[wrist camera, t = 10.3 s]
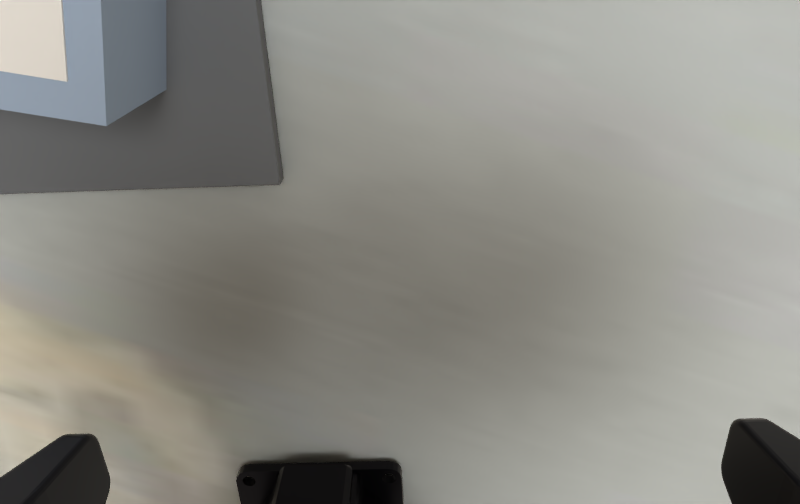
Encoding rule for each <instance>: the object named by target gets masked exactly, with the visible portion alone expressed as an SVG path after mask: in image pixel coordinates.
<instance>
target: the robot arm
mask: <svg viewBox="0 0 800 504" xmlns="http://www.w3.org/2000/svg"><path fill="white" fill-rule="evenodd" d="M721 471H722V477H723V481H724V484H725V486H726V489H727V492H728V494H729V497H730V500H731V503H732V504H800V439H798V438H797V437H795V436H794V435H792V434H790V433H789V432H787V431H785V430H784V429H782V428H781V427H779V426H777V425H776V424H774V423H773V422H771V421H769V420H767V419H763V418H748V419H737V420H735V421H733V423H732V424H731V427H730V430H729V434H728V438H727V442H726V446H725V450H724V454H723V458H722V464H721ZM385 474H393V475H390V476H389V475H385ZM247 476H249V477H252V478H248V477H247ZM236 482H237V487H238V491H239V496H240V501H241V504H404V503H403V484H402V470H401V467H400V466H399V465H398V464H397V463H395V462H390V461H377V462H329V463H282V464H248V465H244V466H242V467H241V468H240V470H239V472H238V475H237V480H236ZM109 489H110V476H109V472H108V469H107V466H106V463H105V460H104V457H103V454H102V451H101V448H100V445H99V442H98V440H97V438H96V437H95V436H94V435H92V434H67V435H63V436H61V437H59V438H58V439H56V440H55V441H53V442H52V443H50V444H49V445H47V446H46V447H44V448H43V449H42V450H40V451H39V452H37V453H36V454H34V455H33V456H31V457H30V458H28V459H27V460H25V461H24V462H22V463H21V464H19V465H18V466H16V467H15V468H14V469H12V470H11V471H9V472H8V473H6V474H5V475H3V476H2V477H0V504H105V503H106V500H107V497H108V493H109Z"/></svg>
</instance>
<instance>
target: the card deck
mask: <svg viewBox="0 0 800 504" xmlns="http://www.w3.org/2000/svg"><path fill="white" fill-rule="evenodd" d="M165 90H166V0H0V109H1V110H7V111H14V112H20V113H26V114H33V115H39V116H45V117H52V118H58V119H64V120H71V121H77V122H83V123H90V124H96V125H102V126H108V125H109V124H111V123H113V122H114V121H116V120H117V119H119V118H121V117H122V116H124V115H126V114H127V113H129V112H131V111H132V110H134V109H135V108H137V107H139V106H140V105H142V104H144V103H145V102H147V101H149V100H150V99H152V98H153V97H155V96H157V95H158V94H160V93H162V92H163V91H165Z"/></svg>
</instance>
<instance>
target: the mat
mask: <svg viewBox="0 0 800 504" xmlns="http://www.w3.org/2000/svg"><path fill="white" fill-rule="evenodd" d="M282 180H283V171H282V163H281V156H280V148H279V140H278V132H277V124H276V117H275V109H274V101H273V93H272V85H271V78H270V70H269V62H268V54H267V46H266V39H265V31H264V23H263V15H262V8H261V0H166V90H165V91H163V92H162V93H160V94H158V95H157V96H155V97H153V98H152V99H150V100H149V101H147V102H145V103H144V104H142V105H140V106H139V107H137V108H135V109H134V110H132V111H131V112H129V113H127V114H126V115H124V116H122V117H121V118H119V119H117V120H116V121H114V122H113V123H111V124H109V125H108V126H102V125H96V124H90V123H83V122H77V121H71V120H64V119H58V118H52V117H45V116H39V115H33V114H26V113H20V112H14V111H7V110H1V109H0V194H15V193H44V192H74V191H103V190H133V189H162V188H191V187H221V186H250V185H279V184H280V183H281V181H282Z"/></svg>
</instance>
